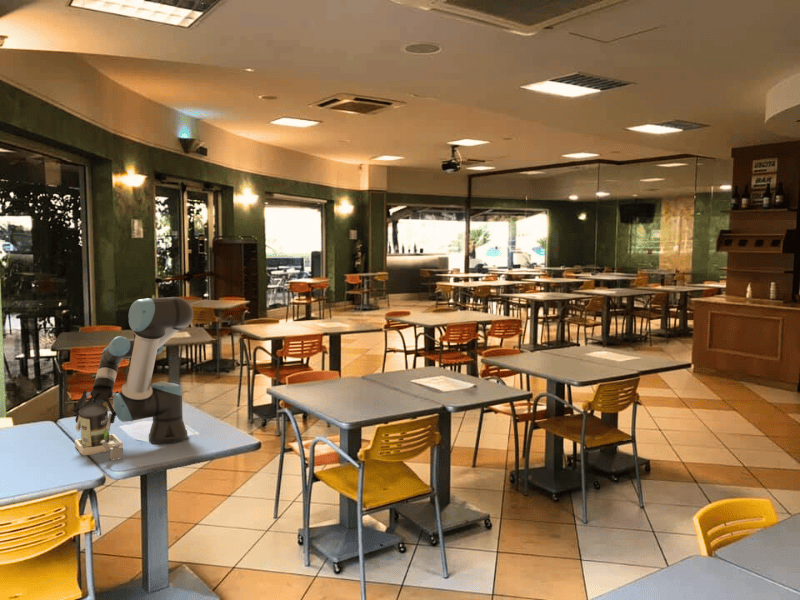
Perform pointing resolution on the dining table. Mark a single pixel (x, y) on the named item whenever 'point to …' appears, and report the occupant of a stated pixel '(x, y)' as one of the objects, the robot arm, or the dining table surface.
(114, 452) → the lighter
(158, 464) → the dining table surface
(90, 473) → the dining table surface
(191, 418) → the dining table surface
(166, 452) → the dining table surface
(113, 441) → the pocket tray
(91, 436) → the coffee can
